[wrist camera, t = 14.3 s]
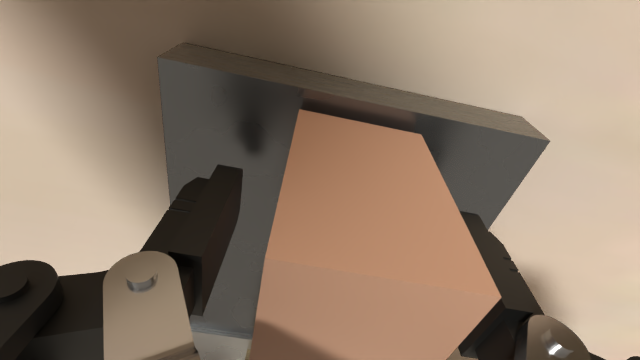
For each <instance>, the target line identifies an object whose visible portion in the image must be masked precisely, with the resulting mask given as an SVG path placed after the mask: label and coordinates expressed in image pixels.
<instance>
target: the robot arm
mask: <svg viewBox="0 0 640 360" xmlns="http://www.w3.org/2000/svg"><path fill="white" fill-rule="evenodd" d="M242 179H243V169H241V168H236V167H231V166H225V165H220V164H218V165H217V166H216V168H215V170H214V171H213V173H212V175H211V177H210V178H209V179H206V178H201V177H196V178H195V179H193V180H192V181H190V182H189V183H187V184H185V185H184V186H183V187H182V189H181V190H180V192H179V193H178V195H177V196H176V199H175V200H174V201H173V202H172V204H171V205H170V207H169V210H167V211H166V213H165V215H164V216H163V218H162V219H161V221H160V222H159V224H158V225H157V227H156V228H155V230H154V231H153V233H152V234H151V236H150V237H149V239H148V240H147V242H146V243H145V245H144V246H143V248H142V249H141V250H140V252H138V253H134V254H131V255H129V256H126V257H124V258H123V259H121V260H119V261H118V262H116V263H115V264H114V265H113V266H112V267H111V268H110V269H109V270H106V271H102V272H96V273H87V274H77V275H68V276H58V275H57V273H56V271H55V269H54V268H53V267H52V266H51V265H49V264H47V263H45V262H41V261H35V260H25V261H18V262H13V263H9V264H5V265H2V266H0V360H200V356H199V353H198V350H197V349H196V348H195V345H194V341H193V336H192V332H191V327H190V323H189V319H190V316H191V315H197V316H203V314H204V311H205V308H206V305H207V303H208V300H209V297H210V295H211V292H212V289H213V287H214V284H215V281H216V278H217V276H218V273H219V270H220V268H221V265H222V262H223V259H224V257H225V254H226V251H227V249H228V246H229V243H230V240H231V238H232V235H233V232H234V230H235V227H236V224H237V221H238V217H239V212H240V204H241V192H242ZM459 212H460V214H461V216H462V218H463V220H464V222H465V224H466V226H467V228H468V230H469V232H470V234H471V236H472V238H473V240H474V242H475V244H476V246H477V248H478V250H479V252H480V254H481V256H482V258H483V260H484V263H485V265H486V267H487V269H488V271H489V273H490V275H491V277H492V279H493V281H494V283H495V285H496V287H497V289H498V291H499V293H500V295H501V297H502V298H501V299H500V300H499V301H498V302H497V303H496V304H495V305H494V307H493V308H492V309H491V310H490V311H489V312H488V313H487V314H486V315H485V317H484V318H483V319H482V320H481V321H480V322H479V323H478V324H477V326H476V327H475V328H474V329H473V330H472V331H471V332H470V333H469V335H468V336H467V337H466V338H465V339H464V340H463V341H462V342H461V344H460V345H459V346H458V348H459V351H460V354H461V356H464V357H471V358H477V359H478V360H605V359H603V358H601V357H599V356H596V355H594V354H592V353H590V352H588V350H587V348H586V346H585V345H584V344H583V342H582V341H581V340H580V338H579V337H578V336H577V335H576V334H575V333H574V332H573V331H572V330H570V329H569V328H568V327H567V326H565V325H564V324H563V323H561V322H559V321H558V320H556V319H554V318H551V317H549V316H545V315H544V313H543V312H542V310H541V308H540V306H539V305H538V303H537V301H536V300H535V298H534V296H533V295H532V293H531V291H530V289H529V288H528V286H527V284H526V283H525V281H524V279H523V278H522V276H521V274H520V273H518V269H517V267H516V266H515V264H514V262H513V261H511V257H510V255H509V254H508V252H507V250H506V249H505V247H504V245H503V244H502V243H501V242H500V241H499V240H498V239H497V238H496V237H495V236H494V235H493V234H492V233H491V232H488V230H487V228H486V227H485V225H484V223H483V221H482V220H481V218H480V216H479V215H478V214H474V213H469V212H464V211H459ZM627 360H640V357H638V356H633V357H630V358H629V359H627Z"/></svg>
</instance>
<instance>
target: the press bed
mask: <svg viewBox="0 0 640 360" xmlns="http://www.w3.org/2000/svg"><path fill="white" fill-rule="evenodd" d="M157 59H158V71H159V82H160V93H161V105H162V116H163V127H164V139H165V150H166V162H167V173H168V184H169V196H170V205H171V204H172V202H173V201H174V200H175V199H176V196H177V195H178V193H179V192H180V190H181V189H182V187H183V186H184V185H185V184H187V183H189V182H190V181H192V180H193V179H195V178H196V177H201V178H206V179H209V178H210V177H211V175H212V173H213V171H214V170H215V168H216V166H217V165H218V164H220V165H225V166H231V167H236V168H241V169H243V179H242V192H241V204H240V212H239V217H238V221H237V224H236V227H235V230H234V232H233V235H232V238H231V240H230V243H229V246H228V249H227V251H226V254H225V257H224V259H223V262H222V265H221V268H220V270H219V273H218V276H217V278H216V281H215V284H214V287H213V289H212V292H211V295H210V297H209V300H208V303H207V305H206V308H205V311H204V314H203V316H197V315H191V316H190V319H189V323H190V327H191V332H192V336H193V341H194V345H195V348H196V349H197V350H198V353H199V356H200V360H245V357H246V353H247V349H250V350H251V344H252V338H253V331H254V325H255V318H256V312H257V305H258V299H259V293H260V286H261V280H262V273H263V267H264V260H265V255H266V251H267V247H268V242H269V238H270V234H271V229H272V225H273V221H274V216H275V212H276V208H277V203H278V199H279V195H280V190H281V186H282V182H283V177H284V173H285V169H286V164H287V160H288V156H289V151H290V147H291V143H292V138H293V134H294V130H295V125H296V121H297V117H298V112H299V109H301V110H306V111H311V112H316V113H320V114H325V115H330V116H335V117H340V118H344V119H349V120H354V121H359V122H364V123H369V124H373V125H378V126H383V127H388V128H393V129H398V130H402V131H407V132H412V133H417V134H421V135H422V137H423V139H424V141H425V143H426V145H427V147H428V149H429V151H430V153H431V155H432V157H433V159H434V161H435V163H436V165H437V167H438V169H439V171H440V173H441V175H442V177H443V179H444V181H445V183H446V185H447V187H448V189H449V191H450V193H451V195H452V198H453V200H454V202H455V204H456V206H457V208H458V210H459V211H464V212H469V213H474V214H478V215H479V216H480V218H481V220H482V221H483V223H484V225H485V227H486V228H487V230H488V229H489V227H490V226H491V225H492V223H493V222H494V220H495V219H496V217H497V216H498V215H499V213H500V212H501V210H502V209H503V208H504V206H505V205H506V203H507V202H508V200H509V199H510V198H511V196H512V195H513V193H514V192H515V190H516V189H517V188H518V186H519V185H520V183H521V182H522V181H523V179H524V178H525V176H526V175H527V173H528V172H529V171H530V169H531V168H532V166H533V165H534V164H535V162H536V161H537V159H538V158H539V156H540V155H541V154H542V152H543V151H544V149H545V148H546V146H547V145H548V144H549V142H550V140H549V139H547V138H546V137H545V136H544V135H543V134H542V133H540V132H539V131H538V130H537V129H536V128H534V127H533V126H532V125H531V124H530V123H529V122H527V121H526V120H525V119H524V118H523V117H521V116H516V115H512V114H507V113H502V112H498V111H493V110H489V109H484V108H480V107H475V106H470V105H466V104H461V103H457V102H452V101H448V100H443V99H438V98H434V97H429V96H425V95H420V94H416V93H411V92H406V91H402V90H397V89H393V88H388V87H384V86H379V85H374V84H370V83H365V82H361V81H356V80H352V79H347V78H342V77H338V76H333V75H329V74H324V73H320V72H315V71H310V70H306V69H301V68H297V67H292V66H287V65H283V64H278V63H274V62H269V61H265V60H260V59H255V58H251V57H246V56H242V55H237V54H233V53H228V52H223V51H219V50H214V49H210V48H205V47H201V46H196V45H191V44H187V43H181V44H180V45H178V46H176V47H174V48H173V49H171V50H169V51H167V52H166V53H164V54H162V55H160V56H158V57H157Z"/></svg>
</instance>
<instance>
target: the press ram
mask: <svg viewBox="0 0 640 360" xmlns="http://www.w3.org/2000/svg"><path fill="white" fill-rule="evenodd" d="M501 298H502V297H501V295H500V293H499V291H498V289H497V287H496V285H495V283H494V281H493V279H492V277H491V275H490V273H489V271H488V269H487V267H486V265H485V263H484V260H483V258H482V256H481V254H480V252H479V250H478V248H477V246H476V244H475V242H474V240H473V238H472V236H471V234H470V232H469V230H468V228H467V226H466V224H465V222H464V220H463V218H462V216H461V214H460V212H459V210H458V208H457V206H456V204H455V202H454V200H453V198H452V195H451V193H450V191H449V189H448V187H447V185H446V183H445V181H444V179H443V177H442V175H441V173H440V171H439V169H438V167H437V165H436V163H435V161H434V159H433V157H432V155H431V153H430V151H429V149H428V147H427V145H426V143H425V141H424V139H423V137H422V135H421V134H417V133H412V132H407V131H402V130H398V129H393V128H388V127H383V126H378V125H373V124H369V123H364V122H359V121H354V120H349V119H344V118H340V117H335V116H330V115H325V114H320V113H316V112H311V111H306V110H301V109H299V112H298V117H297V121H296V125H295V130H294V134H293V138H292V143H291V147H290V151H289V156H288V160H287V164H286V169H285V173H284V177H283V182H282V186H281V190H280V195H279V199H278V203H277V208H276V212H275V216H274V221H273V225H272V229H271V234H270V238H269V242H268V247H267V251H266V255H265V260H264V267H263V273H262V280H261V286H260V293H259V299H258V305H257V312H256V318H255V325H254V331H253V338H252V344H251V351H250V357H249V360H446V359H447V358H448V357H449V356H450V355H451V354H452V353H453V351H454V350H455V349H456V348H457V347H458V346H459V345H460V344H461V342H462V341H463V340H464V339H465V338H466V337H467V336H468V335H469V333H470V332H471V331H472V330H473V329H474V328H475V327H476V326H477V324H478V323H479V322H480V321H481V320H482V319H483V318H484V317H485V315H486V314H487V313H488V312H489V311H490V310H491V309H492V308H493V307H494V305H495V304H496V303H497V302H498V301H499V300H500V299H501Z"/></svg>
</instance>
